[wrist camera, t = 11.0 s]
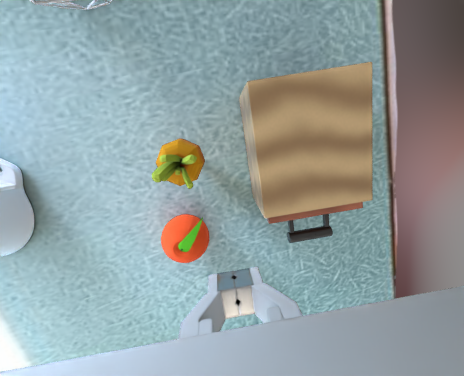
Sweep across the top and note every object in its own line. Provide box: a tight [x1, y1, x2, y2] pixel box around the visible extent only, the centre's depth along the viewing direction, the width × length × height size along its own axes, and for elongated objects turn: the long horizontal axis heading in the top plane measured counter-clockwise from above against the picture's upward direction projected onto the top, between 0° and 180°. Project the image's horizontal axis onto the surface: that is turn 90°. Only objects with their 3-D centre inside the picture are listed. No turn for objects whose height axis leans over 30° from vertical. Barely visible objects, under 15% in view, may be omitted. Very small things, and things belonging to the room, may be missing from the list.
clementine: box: [161, 214, 209, 263], centre depth 32 cm, size 8×7×7 cm
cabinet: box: [239, 62, 372, 218], centre depth 28 cm, size 15×13×9 cm
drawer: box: [266, 202, 363, 243], centre depth 29 cm, size 19×12×7 cm, turn 9°
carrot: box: [152, 139, 205, 189], centre depth 25 cm, size 5×5×15 cm
